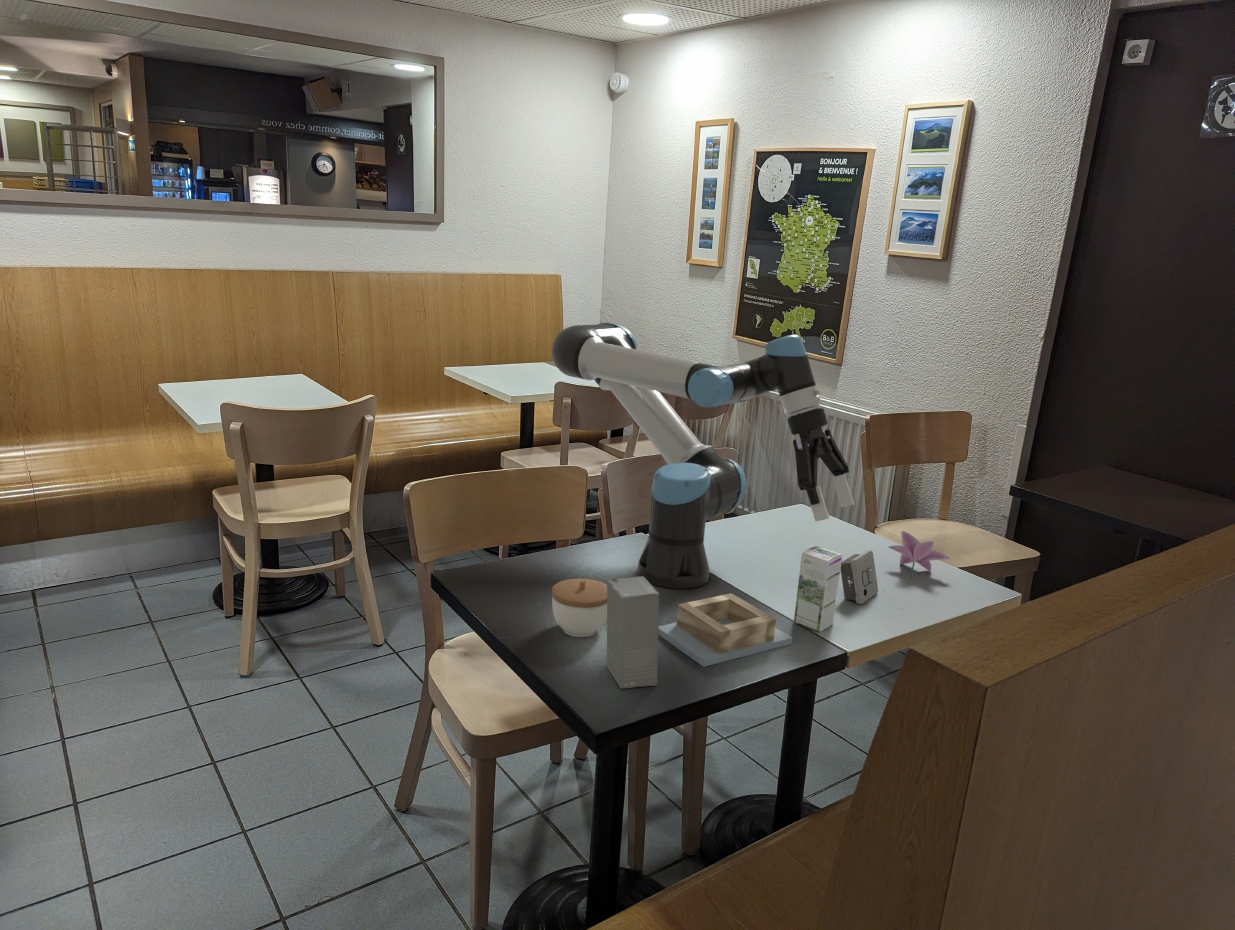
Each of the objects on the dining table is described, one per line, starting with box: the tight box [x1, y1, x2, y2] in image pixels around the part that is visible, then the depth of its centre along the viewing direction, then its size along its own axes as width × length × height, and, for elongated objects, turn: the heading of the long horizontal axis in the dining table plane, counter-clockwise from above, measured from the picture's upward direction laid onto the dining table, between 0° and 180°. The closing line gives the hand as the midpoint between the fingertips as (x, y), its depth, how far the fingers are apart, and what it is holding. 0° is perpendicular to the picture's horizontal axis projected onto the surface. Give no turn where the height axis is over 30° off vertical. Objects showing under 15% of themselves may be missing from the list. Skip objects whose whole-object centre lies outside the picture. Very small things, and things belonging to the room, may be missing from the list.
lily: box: [888, 530, 951, 579], centre depth 192 cm, size 12×12×10 cm
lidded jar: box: [551, 578, 607, 638], centre depth 153 cm, size 11×11×9 cm
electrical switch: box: [840, 550, 879, 605], centre depth 177 cm, size 9×5×9 cm, turn 141°
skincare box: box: [606, 576, 660, 689], centre depth 137 cm, size 8×7×16 cm
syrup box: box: [793, 545, 843, 633], centre depth 161 cm, size 6×6×14 cm
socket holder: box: [658, 593, 793, 668], centre depth 154 cm, size 20×14×5 cm
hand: (835, 512), depth 172 cm, fingers open, 13 cm apart
